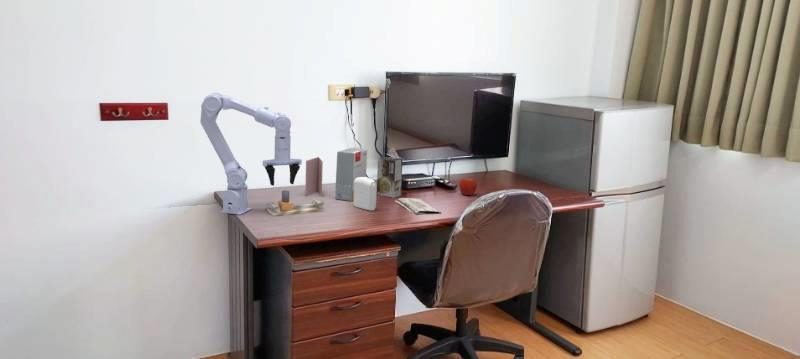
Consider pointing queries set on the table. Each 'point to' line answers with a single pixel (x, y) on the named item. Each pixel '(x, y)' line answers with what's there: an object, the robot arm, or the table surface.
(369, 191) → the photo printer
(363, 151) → the hard drive box
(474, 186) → the apple
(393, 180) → the coffee box
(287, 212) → the rail
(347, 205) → the table surface
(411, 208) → the newspaper
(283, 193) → the carriage
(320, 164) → the greeting card
